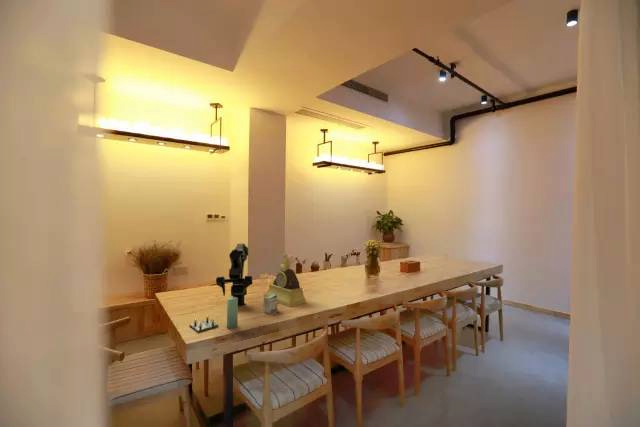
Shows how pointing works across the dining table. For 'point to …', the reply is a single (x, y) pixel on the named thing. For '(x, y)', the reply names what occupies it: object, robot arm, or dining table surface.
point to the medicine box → (270, 303)
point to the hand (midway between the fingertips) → (233, 295)
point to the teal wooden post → (232, 312)
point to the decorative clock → (286, 286)
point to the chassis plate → (203, 325)
